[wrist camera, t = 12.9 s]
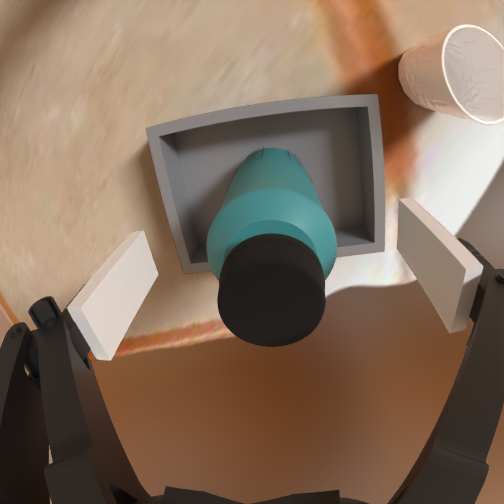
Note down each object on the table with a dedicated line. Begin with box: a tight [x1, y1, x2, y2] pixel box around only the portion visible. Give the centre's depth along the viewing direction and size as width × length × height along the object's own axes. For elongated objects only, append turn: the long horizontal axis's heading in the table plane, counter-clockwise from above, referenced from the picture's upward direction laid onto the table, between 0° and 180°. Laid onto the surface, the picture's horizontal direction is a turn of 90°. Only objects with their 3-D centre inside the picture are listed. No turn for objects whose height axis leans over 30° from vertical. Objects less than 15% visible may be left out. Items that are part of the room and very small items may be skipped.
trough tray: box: [146, 94, 385, 274], centre depth 27 cm, size 14×19×5 cm
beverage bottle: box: [206, 147, 337, 347], centre depth 19 cm, size 6×7×20 cm
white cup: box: [398, 25, 504, 125], centre depth 18 cm, size 8×8×10 cm
